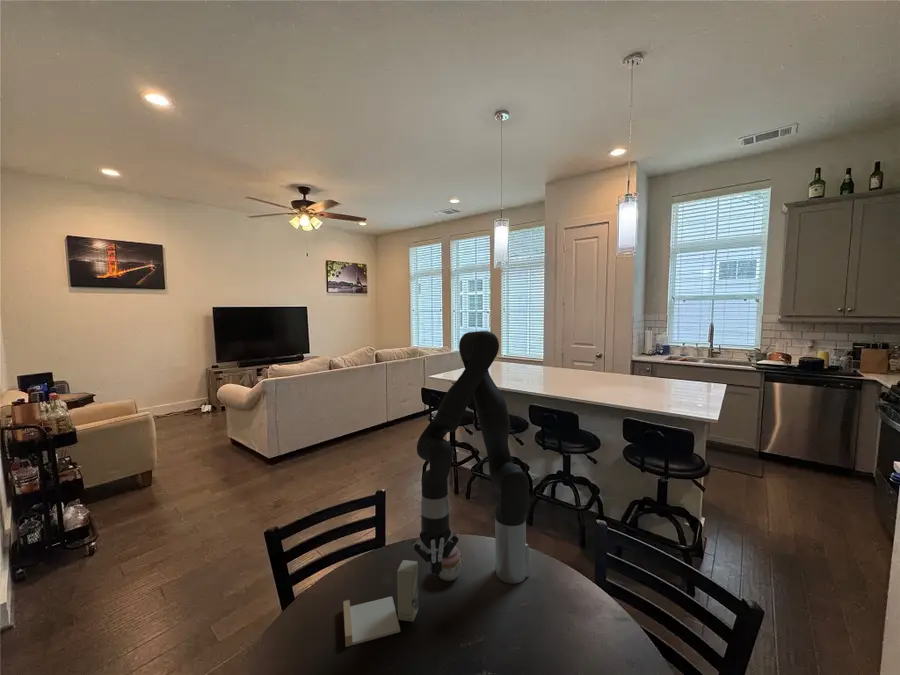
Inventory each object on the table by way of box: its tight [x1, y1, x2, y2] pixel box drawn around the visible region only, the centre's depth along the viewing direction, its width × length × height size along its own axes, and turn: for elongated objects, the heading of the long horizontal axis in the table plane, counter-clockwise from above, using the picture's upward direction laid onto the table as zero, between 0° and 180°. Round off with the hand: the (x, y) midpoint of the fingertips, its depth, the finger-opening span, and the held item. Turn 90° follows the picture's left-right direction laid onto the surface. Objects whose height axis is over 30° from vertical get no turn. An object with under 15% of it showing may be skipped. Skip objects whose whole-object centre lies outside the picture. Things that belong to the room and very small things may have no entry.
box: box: [396, 559, 420, 622], centre depth 97 cm, size 5×4×13 cm
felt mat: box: [342, 595, 401, 648], centre depth 95 cm, size 13×12×2 cm
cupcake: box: [438, 545, 465, 582], centre depth 112 cm, size 9×9×10 cm
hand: (435, 573), depth 99 cm, fingers closed
